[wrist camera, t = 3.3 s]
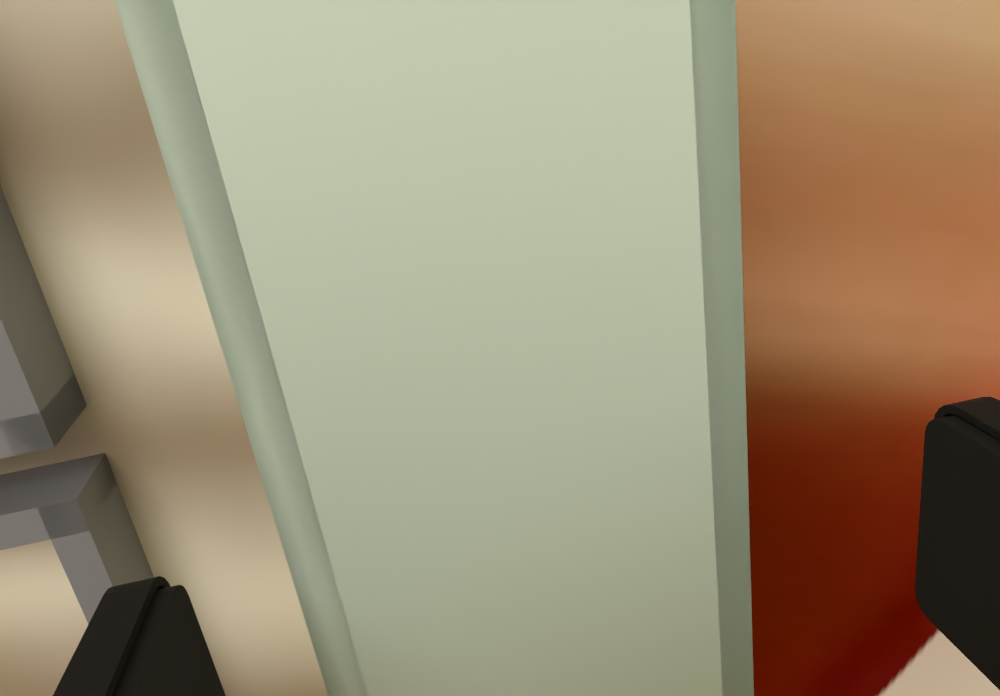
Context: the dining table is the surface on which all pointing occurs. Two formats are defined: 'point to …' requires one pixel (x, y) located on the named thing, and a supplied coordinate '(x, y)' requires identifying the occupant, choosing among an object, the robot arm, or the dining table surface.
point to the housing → (479, 326)
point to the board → (132, 364)
